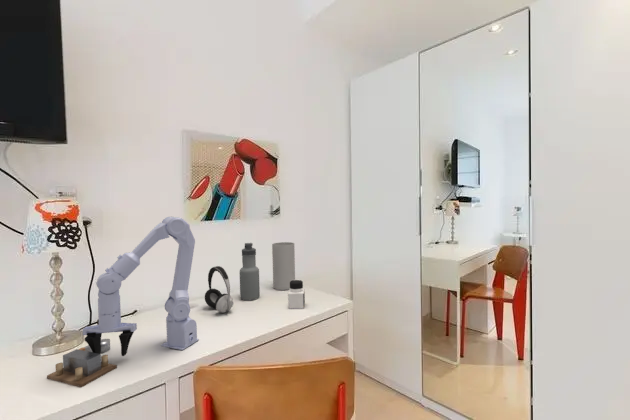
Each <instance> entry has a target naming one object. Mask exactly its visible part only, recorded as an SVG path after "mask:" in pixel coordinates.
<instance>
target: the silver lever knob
mask: <svg viewBox="0 0 630 420" xmlns="http://www.w3.org/2000/svg"><path fill="white" fill-rule="evenodd" d="M78 350H83V351H89V352H92V350H91V348H90V346H89V345H88V344H87V345H86V346H84V347H81V348H78ZM110 350H111V340H110V338H101V354H103V353H104V354H105V353H107V352H109V351H110Z"/></svg>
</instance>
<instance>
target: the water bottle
mask: <svg viewBox="0 0 630 420" xmlns="http://www.w3.org/2000/svg"><path fill="white" fill-rule="evenodd" d="M253 246H254V245H253V243H252V242H244V247H243V248H242V249H241V256H242V257H241V259H242V267H241V268H240V269H239V298H240V299H241V300H243V301H255V300H257V299H259V298H260V295H261V294H260V292H261V290H260V268H259V267H257V265H256V263H257V262H256V261H257V260H256V257H257V256H256V255H257V250H256V248H255V247H253Z"/></svg>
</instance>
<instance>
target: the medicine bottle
mask: <svg viewBox="0 0 630 420" xmlns="http://www.w3.org/2000/svg"><path fill="white" fill-rule="evenodd" d="M303 283H304V282H303V281H302V280H300V279H295V280H292V281H290V290H288V293H287V302H288V303H287V304H288V305H287V307H288V309H289V310H290V309H291V310H292V309H305V305H306V298H305V296H306V295H305V293H306V292H305V289H304V287H303V286H304V285H303Z"/></svg>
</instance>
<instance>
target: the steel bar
mask: <svg viewBox="0 0 630 420" xmlns="http://www.w3.org/2000/svg"><path fill="white" fill-rule="evenodd" d="M78 349H79V348H78ZM78 349H77V348H76V349H74V350H72V351H69V352H67V353H65V354H63V355H62V363H63V371H67V372H71V373H75V369H76V368H78V367H82V369H83V375H84V376H90V375H92V374H94V373H95V372H97V371H99V370H101V356H102V355H101V354H102V353H101V354H98V353H93V352H88V351H83V350H78Z"/></svg>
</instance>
